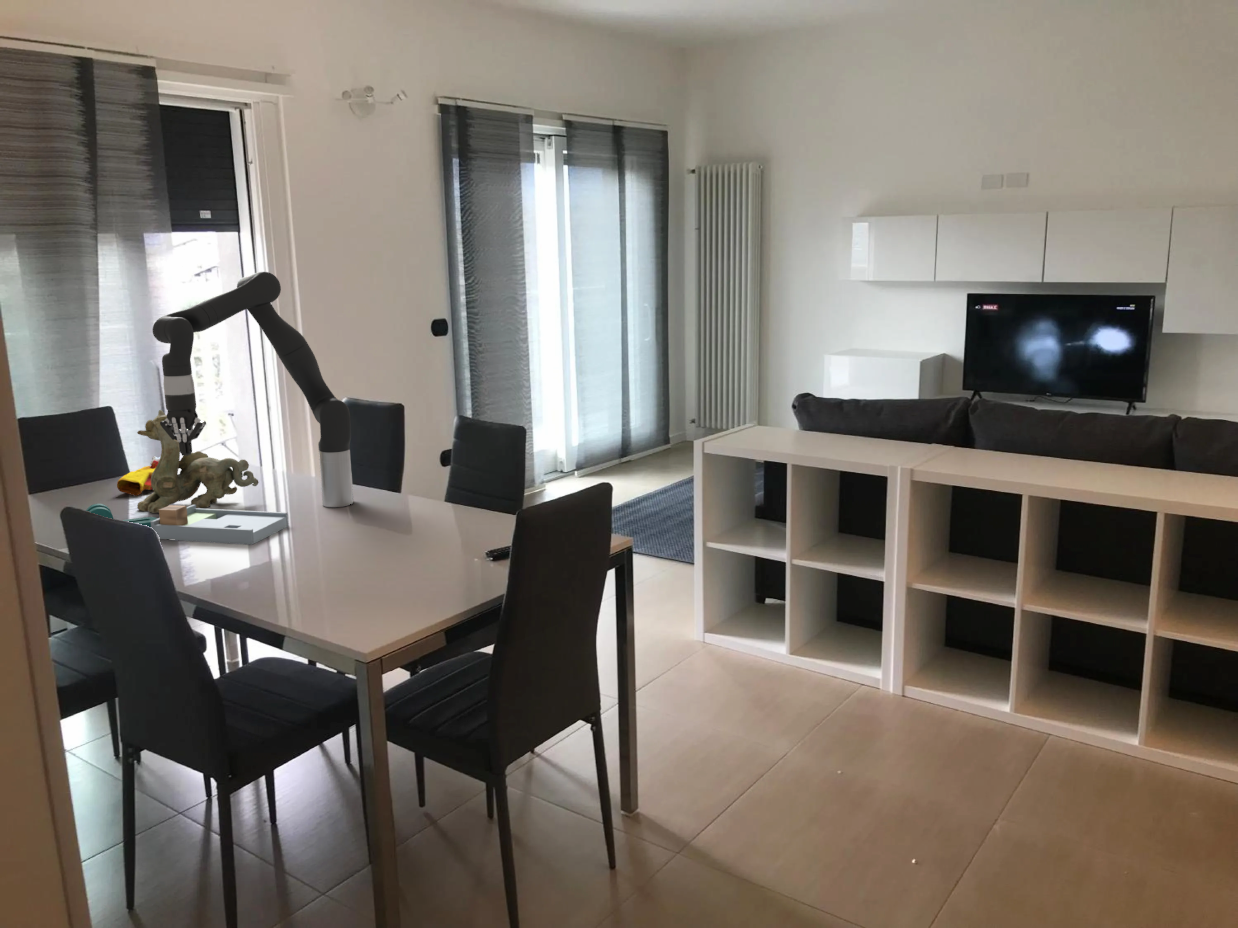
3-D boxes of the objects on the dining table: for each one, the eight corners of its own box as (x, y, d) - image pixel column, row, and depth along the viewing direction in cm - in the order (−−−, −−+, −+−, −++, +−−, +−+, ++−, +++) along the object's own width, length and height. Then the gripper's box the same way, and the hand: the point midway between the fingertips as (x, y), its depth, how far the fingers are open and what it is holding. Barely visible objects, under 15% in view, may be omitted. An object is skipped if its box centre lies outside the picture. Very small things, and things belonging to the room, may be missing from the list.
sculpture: (213, 487, 330) (220, 401, 321) (255, 517, 314) (264, 428, 305) (123, 498, 308) (128, 407, 299) (163, 531, 292) (169, 435, 283)
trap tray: (194, 521, 290) (192, 504, 289) (288, 526, 284) (287, 509, 283) (152, 539, 271) (150, 521, 270) (252, 544, 266) (250, 526, 265)
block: (171, 522, 277) (170, 505, 276) (188, 523, 276) (186, 505, 275) (160, 527, 272) (158, 509, 271) (177, 527, 271) (175, 510, 270)
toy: (152, 475, 319) (192, 448, 347) (113, 475, 319) (155, 448, 347) (156, 500, 321) (195, 472, 350) (117, 501, 321) (159, 472, 350)
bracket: (88, 537, 274) (84, 510, 272) (86, 532, 279) (83, 505, 278) (159, 528, 283) (156, 501, 281) (156, 523, 289) (153, 497, 287)
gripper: (210, 390, 268) (216, 453, 272) (166, 389, 271) (173, 451, 275) (193, 394, 261) (200, 458, 265) (148, 393, 264) (155, 457, 267)
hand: (186, 455), depth 270 cm, fingers closed
